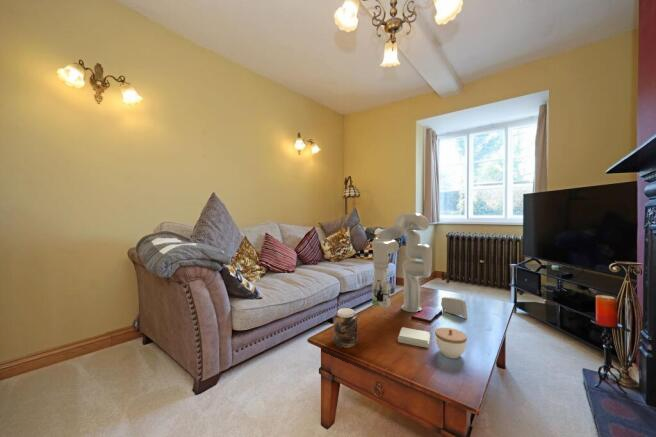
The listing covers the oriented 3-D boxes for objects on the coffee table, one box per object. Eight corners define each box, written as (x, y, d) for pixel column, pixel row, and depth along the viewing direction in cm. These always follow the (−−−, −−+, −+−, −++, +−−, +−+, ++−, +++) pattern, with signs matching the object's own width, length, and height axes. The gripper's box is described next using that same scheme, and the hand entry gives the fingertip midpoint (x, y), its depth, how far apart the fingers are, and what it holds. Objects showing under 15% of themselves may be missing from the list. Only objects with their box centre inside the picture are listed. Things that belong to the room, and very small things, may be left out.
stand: (401, 332, 136) (401, 326, 136) (430, 337, 131) (430, 331, 130) (397, 341, 126) (397, 335, 126) (428, 348, 120) (428, 341, 120)
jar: (333, 336, 132) (333, 306, 132) (356, 336, 132) (357, 307, 131) (333, 348, 120) (333, 315, 120) (358, 348, 120) (359, 316, 120)
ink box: (371, 304, 137) (371, 282, 136) (375, 301, 141) (375, 280, 141) (387, 307, 132) (387, 284, 132) (391, 304, 136) (390, 282, 136)
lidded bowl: (451, 364, 107) (452, 338, 107) (428, 350, 119) (429, 326, 118) (473, 358, 112) (473, 332, 112) (449, 344, 124) (449, 321, 124)
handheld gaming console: (444, 313, 167) (468, 318, 155) (442, 314, 165) (465, 319, 153) (442, 295, 168) (465, 299, 156) (440, 296, 167) (463, 299, 154)
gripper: (377, 261, 145) (378, 293, 146) (369, 268, 129) (370, 304, 130) (391, 262, 142) (391, 294, 143) (384, 269, 126) (385, 306, 127)
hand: (381, 298), depth 136 cm, fingers closed on ink box, 5 cm apart
